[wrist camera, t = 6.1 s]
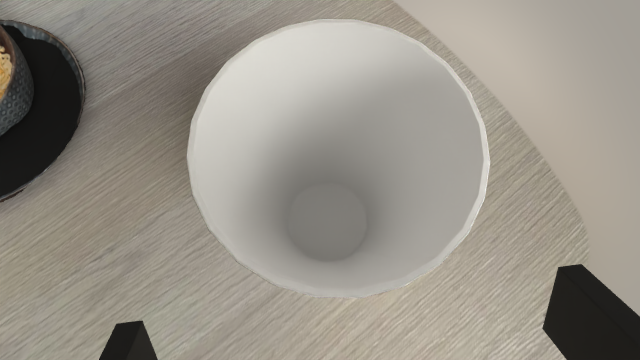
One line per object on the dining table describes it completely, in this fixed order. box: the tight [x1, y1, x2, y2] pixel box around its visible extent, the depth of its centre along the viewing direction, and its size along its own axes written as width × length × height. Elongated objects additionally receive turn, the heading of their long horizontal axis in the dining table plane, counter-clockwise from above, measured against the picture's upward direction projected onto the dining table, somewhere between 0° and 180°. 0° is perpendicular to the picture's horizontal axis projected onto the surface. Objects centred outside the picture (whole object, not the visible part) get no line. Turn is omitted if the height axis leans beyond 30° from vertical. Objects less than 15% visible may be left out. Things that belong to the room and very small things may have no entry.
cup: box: [186, 19, 490, 298], centre depth 20 cm, size 10×10×14 cm
